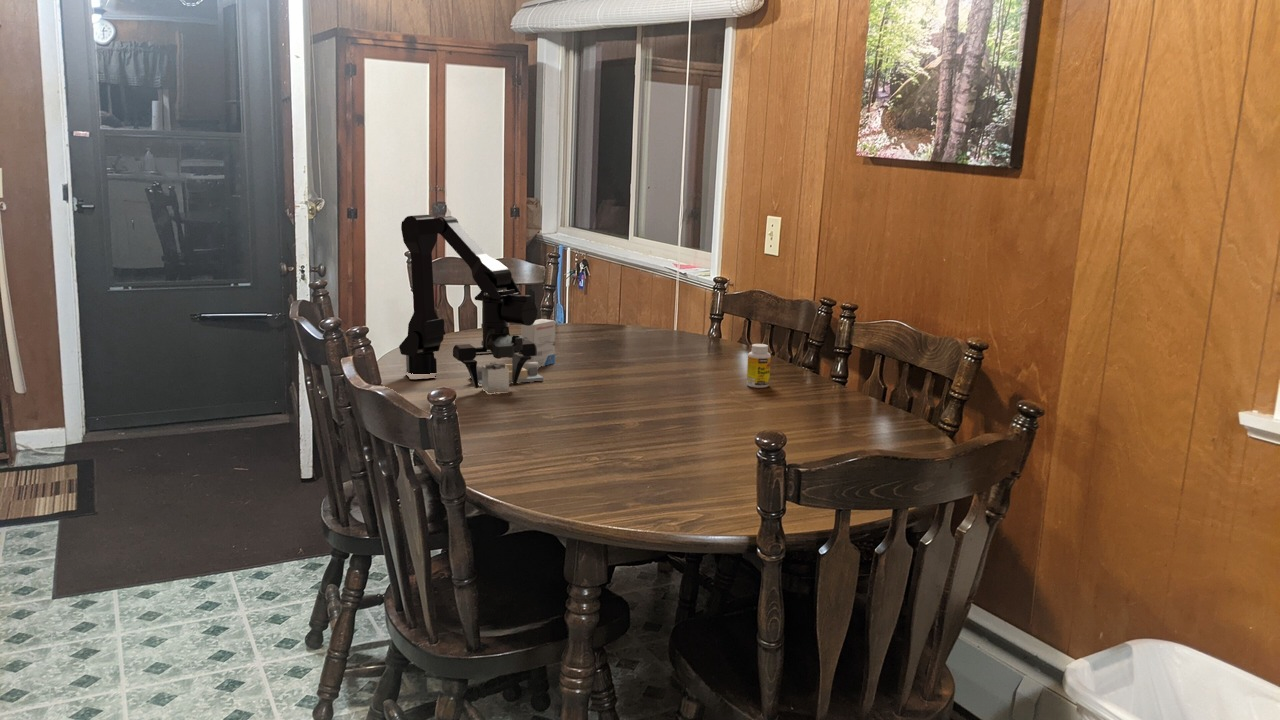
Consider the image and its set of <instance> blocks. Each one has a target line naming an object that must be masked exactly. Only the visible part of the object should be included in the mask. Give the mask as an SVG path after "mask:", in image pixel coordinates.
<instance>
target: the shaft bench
mask: <svg viewBox="0 0 1280 720" xmlns="http://www.w3.org/2000/svg"><path fill="white" fill-rule="evenodd" d="M504 364H505V366H506V367H507V368H509V383H511V382H513V381H512V363H504ZM482 366H483V365H477V367H476V368H477V378H478V383H479V384H482ZM539 368H540V367H539V365H538V362H526V363H524V365H523V367H522V369H521V372H520V374H519V377H518V380H517V382H528V381H529V382H530V383H532V382H531V381H542V382H544V377H543V376H542V375H540V374H538V370H539Z"/></svg>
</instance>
